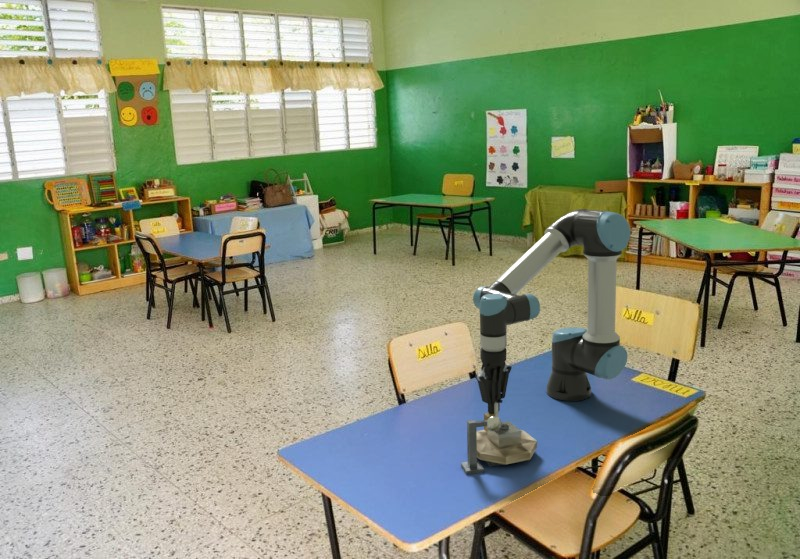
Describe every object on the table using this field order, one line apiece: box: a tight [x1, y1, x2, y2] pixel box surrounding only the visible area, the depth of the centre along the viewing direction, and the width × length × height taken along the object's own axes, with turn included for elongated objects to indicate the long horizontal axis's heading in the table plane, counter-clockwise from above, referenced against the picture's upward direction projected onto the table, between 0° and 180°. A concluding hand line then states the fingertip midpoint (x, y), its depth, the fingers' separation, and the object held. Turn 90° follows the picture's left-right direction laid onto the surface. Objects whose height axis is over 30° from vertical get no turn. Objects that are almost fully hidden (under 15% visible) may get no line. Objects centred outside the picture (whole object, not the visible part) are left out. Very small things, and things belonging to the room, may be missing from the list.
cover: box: [487, 420, 522, 448], centre depth 190 cm, size 7×7×5 cm
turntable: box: [477, 412, 538, 465], centre depth 190 cm, size 18×18×7 cm
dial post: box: [460, 416, 502, 475], centre depth 182 cm, size 10×5×15 cm, turn 102°
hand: (493, 422), depth 199 cm, fingers closed
